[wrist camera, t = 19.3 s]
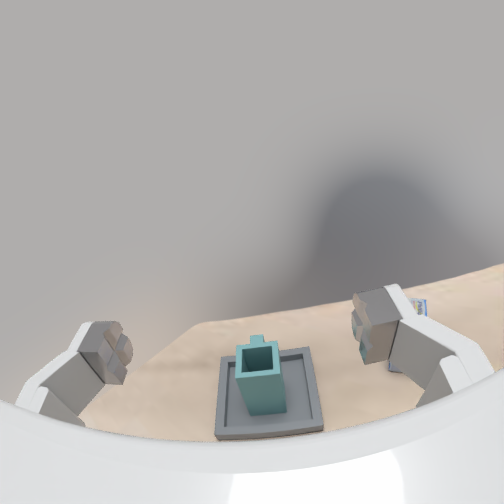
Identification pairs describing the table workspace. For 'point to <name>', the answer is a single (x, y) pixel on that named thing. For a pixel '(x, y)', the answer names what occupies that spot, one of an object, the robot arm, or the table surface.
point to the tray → (273, 425)
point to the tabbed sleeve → (260, 376)
